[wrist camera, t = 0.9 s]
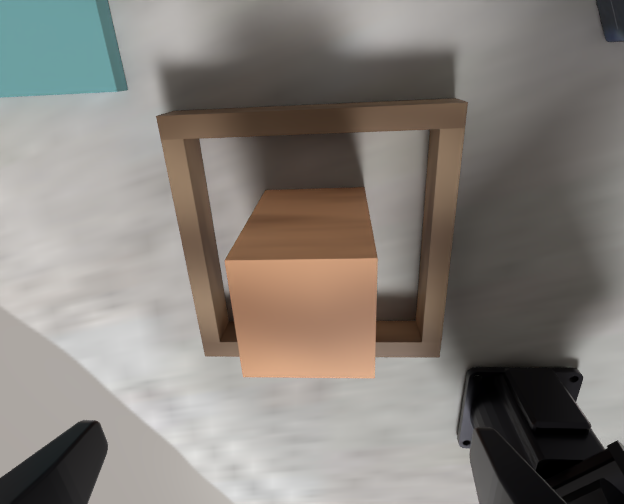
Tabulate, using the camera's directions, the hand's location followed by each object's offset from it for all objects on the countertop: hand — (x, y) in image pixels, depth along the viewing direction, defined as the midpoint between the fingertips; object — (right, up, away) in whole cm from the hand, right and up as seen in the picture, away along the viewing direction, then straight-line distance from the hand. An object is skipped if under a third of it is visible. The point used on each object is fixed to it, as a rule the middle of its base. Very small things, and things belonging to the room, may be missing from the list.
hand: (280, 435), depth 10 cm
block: (+1, +5, +12) cm, 13 cm away
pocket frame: (+1, +5, +12) cm, 13 cm away
